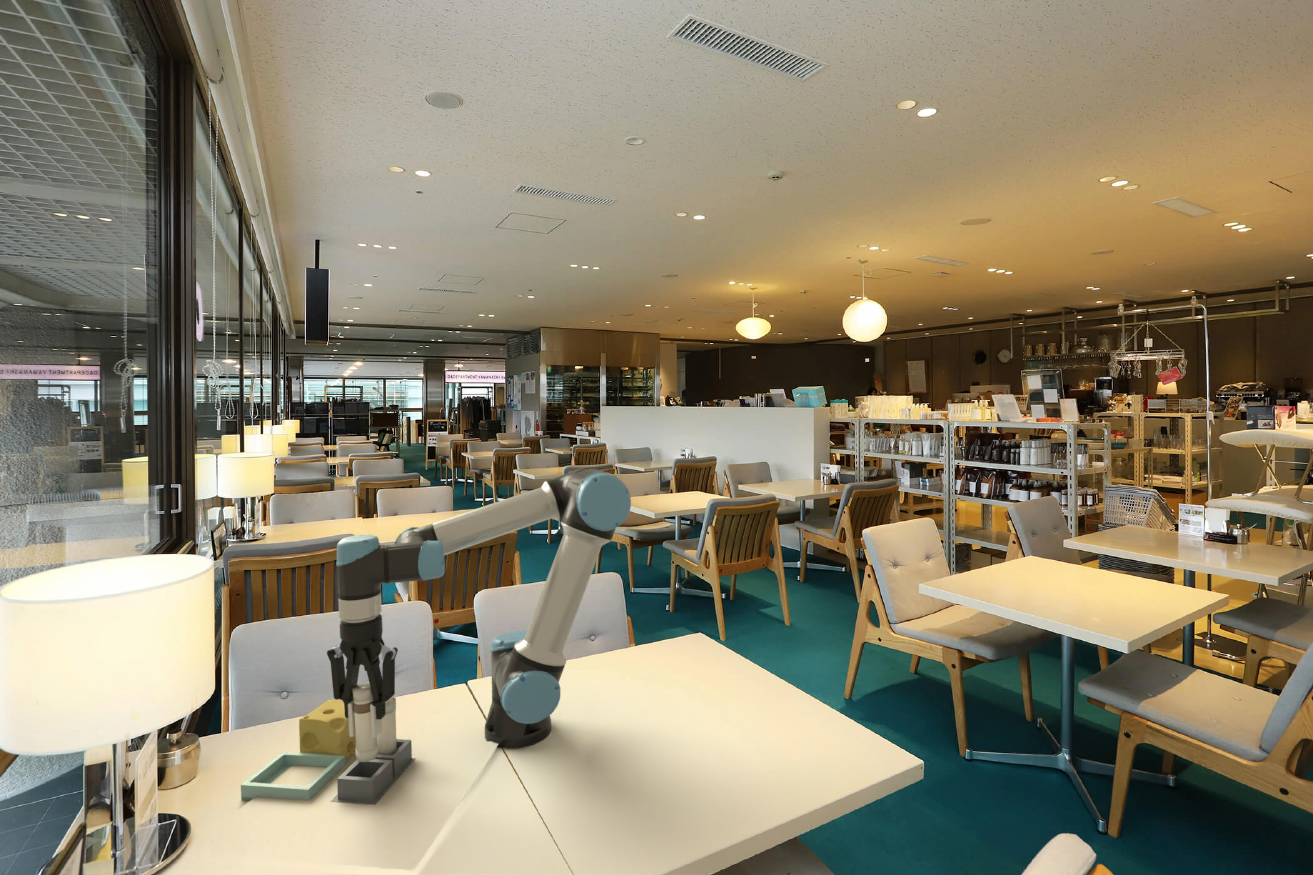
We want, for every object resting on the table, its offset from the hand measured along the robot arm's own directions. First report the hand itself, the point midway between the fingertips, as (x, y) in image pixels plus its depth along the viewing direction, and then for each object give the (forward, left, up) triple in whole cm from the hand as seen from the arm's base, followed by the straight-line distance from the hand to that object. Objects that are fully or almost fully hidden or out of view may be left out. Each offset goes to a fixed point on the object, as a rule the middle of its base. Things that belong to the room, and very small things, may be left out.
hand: (366, 733), depth 128 cm
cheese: (+15, -13, -13) cm, 24 cm away
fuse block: (0, -3, -12) cm, 13 cm away
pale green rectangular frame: (+16, -1, -12) cm, 20 cm away
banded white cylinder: (0, 0, -5) cm, 5 cm away
